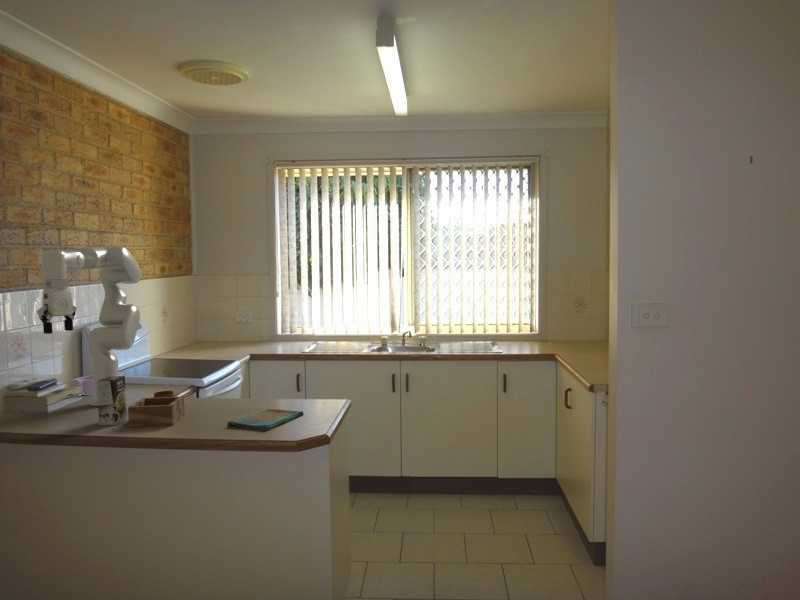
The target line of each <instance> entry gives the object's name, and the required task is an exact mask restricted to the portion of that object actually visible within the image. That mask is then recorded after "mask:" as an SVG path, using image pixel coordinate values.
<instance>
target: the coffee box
mask: <svg viewBox="0 0 800 600" xmlns="http://www.w3.org/2000/svg"><path fill="white" fill-rule="evenodd" d="M126 392H127V390H126V376H125V375H119V376H115V377H107V378H104V379H101V380H99V381H97V395H98V406H97V412H98V413H97V414H98V426H116V425H118V424H120V423H122V422H123V421H126V420H128V406H127V394H126Z"/></svg>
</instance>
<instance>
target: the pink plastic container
mask: <svg viewBox="0 0 800 600" xmlns="http://www.w3.org/2000/svg"><path fill="white" fill-rule="evenodd" d="M69 385H70V387H73V386H83V392H84V394H94V381H93V375H87V376H79V377H76V378H74V379H73V378H72V379H70V380H69Z"/></svg>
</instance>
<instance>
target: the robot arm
mask: <svg viewBox="0 0 800 600" xmlns="http://www.w3.org/2000/svg"><path fill="white" fill-rule="evenodd" d="M41 255H42V256H41V264H42V272H43V283H42V286H43V290H42V299H41V301H42V302H41V307H40V308H38V310H37V311H36V314H37V316H38V319H39V320H40V322H41V323H42V327H43V334H45V335H46V334H48V335H50V334H53V323H52V319H53V318H54V317H64V321H63V322H64V331H67V332H69V331H74V323H73V322H74V321H73V320H74V319H75V316H76V312H77V310H78V308H77V306H75V305H74V303H73V297H72V292H71V289H70V288H69V283H68V282H69V281H68V271H78V270H79V271H80V270H93V269H99V278H100V281H101V284H102V286H103V289H104V299H103V302H102V304H101V308H100V311H99V314H98V315H99V316H98V322H99V324H100V325H101V326H99V327H96V328H93V329H92V330H90V331H89V333H88V336H87V340H88V344H89V345H88V346H89V348H90V353H91V361H92V362H91V363H92V376H93V381H94V395H93V396H94V397H93V398H94V400H91V401H90V406H92V407H98V395H97V381H99V380H101V379H104V378H107V377H115V376H120V373H119V359H118V357H117V355H116V354H115V352H114V351H126V350H130V348H132V347H133V345H134V343H135V339H136V336H137V334H138V333H137V332H138V328H139V325H140V318H141V311H140V310H139V307H138V306H137V305H135V304H129V303H127V299H128V298H127V295H126V293H125V291H124V289H122V288H121V286H120V285H127V284H128V285H131V284H132V285H133V284H137V283H140V282H141V279H142V277H143V275H142V270H141V267H140V265H139V264H138V262H137V261H136V259H135V257H134V256H133V254H131V252H130V251H129V249H127V248H126V247H124V246H120V245H119V246H118V245H117V246H95V247H93V246H92V247H80V248H73V249H62V250H61V249H59V250H55V249H54V250H45V251H43V252H42V254H41ZM126 303H127V304H126Z"/></svg>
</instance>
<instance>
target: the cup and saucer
mask: <svg viewBox="0 0 800 600" xmlns="http://www.w3.org/2000/svg"><path fill="white" fill-rule="evenodd" d="M174 394H175V392H174V391H173V390H162V391H156V392H154V393H153V397H152V398H158V397H175V395H174Z"/></svg>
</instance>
